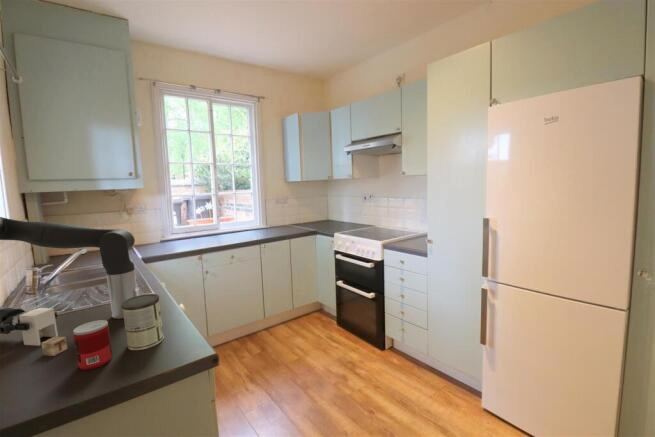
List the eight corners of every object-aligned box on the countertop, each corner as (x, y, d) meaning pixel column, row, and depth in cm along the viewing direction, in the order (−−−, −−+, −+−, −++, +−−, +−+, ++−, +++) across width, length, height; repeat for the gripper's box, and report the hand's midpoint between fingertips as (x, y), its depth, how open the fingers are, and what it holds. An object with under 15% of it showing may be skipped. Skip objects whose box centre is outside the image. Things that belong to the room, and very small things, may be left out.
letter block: (43, 355, 95) (41, 342, 95) (57, 348, 99) (55, 336, 99) (54, 356, 94) (52, 343, 94) (67, 349, 98) (65, 337, 98)
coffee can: (123, 342, 100) (117, 300, 99) (158, 331, 107) (153, 291, 106) (131, 354, 93) (125, 309, 91) (168, 341, 100) (163, 298, 98)
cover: (24, 344, 102) (19, 315, 101) (43, 335, 108) (39, 307, 107) (39, 345, 101) (34, 316, 100) (58, 336, 107) (53, 308, 106)
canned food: (119, 356, 92) (114, 321, 91) (91, 372, 85) (85, 334, 83) (100, 353, 95) (95, 318, 93) (72, 368, 87) (66, 331, 86)
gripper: (-25, 317, 99) (16, 319, 96) (25, 300, 113) (62, 301, 110) (-21, 340, 100) (20, 342, 97) (28, 320, 114) (65, 321, 111)
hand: (42, 320), depth 103 cm, fingers open, 8 cm apart
